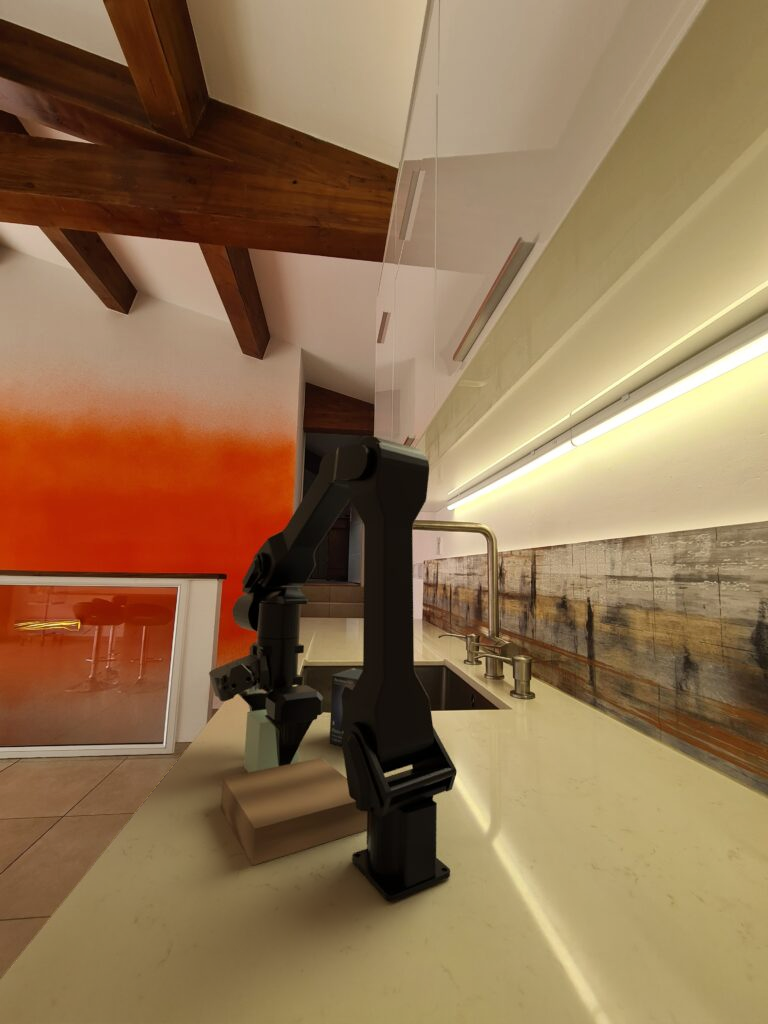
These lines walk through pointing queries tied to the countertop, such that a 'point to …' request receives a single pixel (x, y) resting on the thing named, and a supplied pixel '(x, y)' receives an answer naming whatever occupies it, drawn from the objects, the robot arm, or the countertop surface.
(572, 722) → the countertop surface
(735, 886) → the countertop surface
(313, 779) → the walnut block
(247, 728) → the sage block
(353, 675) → the small box
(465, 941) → the countertop surface
